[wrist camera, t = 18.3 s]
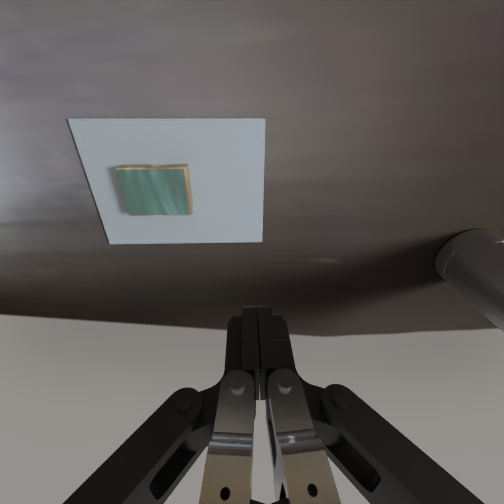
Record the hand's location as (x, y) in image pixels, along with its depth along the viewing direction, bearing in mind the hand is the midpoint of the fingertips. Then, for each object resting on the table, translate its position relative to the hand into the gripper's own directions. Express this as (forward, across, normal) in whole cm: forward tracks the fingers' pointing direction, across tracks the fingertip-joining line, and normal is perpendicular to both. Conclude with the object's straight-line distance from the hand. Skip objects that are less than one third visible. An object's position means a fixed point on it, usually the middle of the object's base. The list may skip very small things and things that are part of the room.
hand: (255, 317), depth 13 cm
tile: (+22, +7, 0) cm, 23 cm away
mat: (+23, +9, 0) cm, 25 cm away
